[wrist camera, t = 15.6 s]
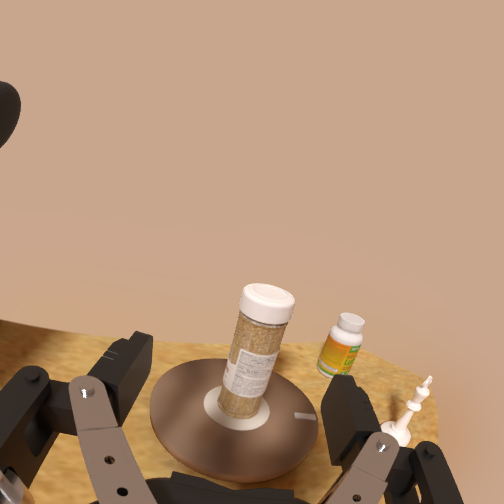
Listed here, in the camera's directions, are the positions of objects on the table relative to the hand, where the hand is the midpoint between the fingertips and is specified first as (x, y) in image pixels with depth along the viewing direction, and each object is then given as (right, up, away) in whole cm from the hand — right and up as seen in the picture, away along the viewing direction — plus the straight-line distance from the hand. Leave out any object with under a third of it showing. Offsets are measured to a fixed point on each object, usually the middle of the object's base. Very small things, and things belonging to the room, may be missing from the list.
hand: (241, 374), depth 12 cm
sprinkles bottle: (-1, -11, +16) cm, 20 cm away
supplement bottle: (+13, -14, +32) cm, 37 cm away
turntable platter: (-1, -12, +16) cm, 21 cm away
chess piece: (+19, -19, +17) cm, 32 cm away
